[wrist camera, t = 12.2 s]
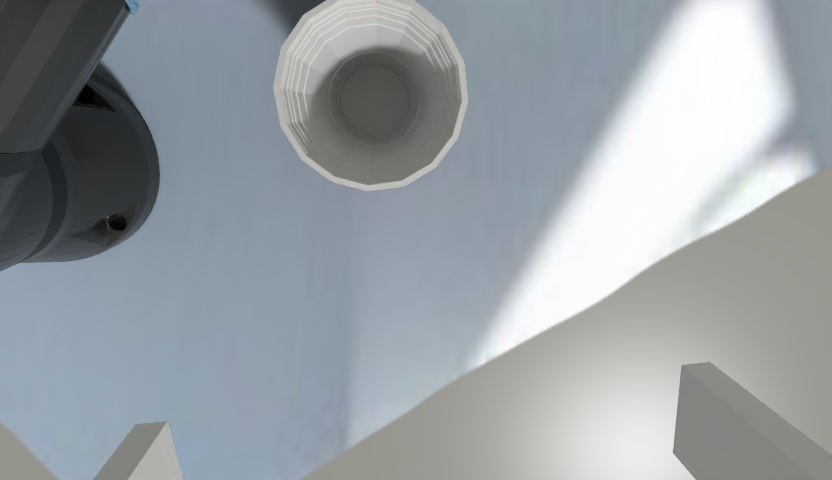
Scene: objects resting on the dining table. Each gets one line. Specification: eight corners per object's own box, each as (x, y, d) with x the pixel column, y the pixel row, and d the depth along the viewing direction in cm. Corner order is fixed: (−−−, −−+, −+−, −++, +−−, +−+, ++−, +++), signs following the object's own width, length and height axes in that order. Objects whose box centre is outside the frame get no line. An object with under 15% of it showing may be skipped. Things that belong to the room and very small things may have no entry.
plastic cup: (416, 4, 35) (434, -46, 24) (458, 141, 38) (492, 155, 27) (283, 52, 36) (236, 25, 24) (335, 184, 39) (316, 217, 27)
